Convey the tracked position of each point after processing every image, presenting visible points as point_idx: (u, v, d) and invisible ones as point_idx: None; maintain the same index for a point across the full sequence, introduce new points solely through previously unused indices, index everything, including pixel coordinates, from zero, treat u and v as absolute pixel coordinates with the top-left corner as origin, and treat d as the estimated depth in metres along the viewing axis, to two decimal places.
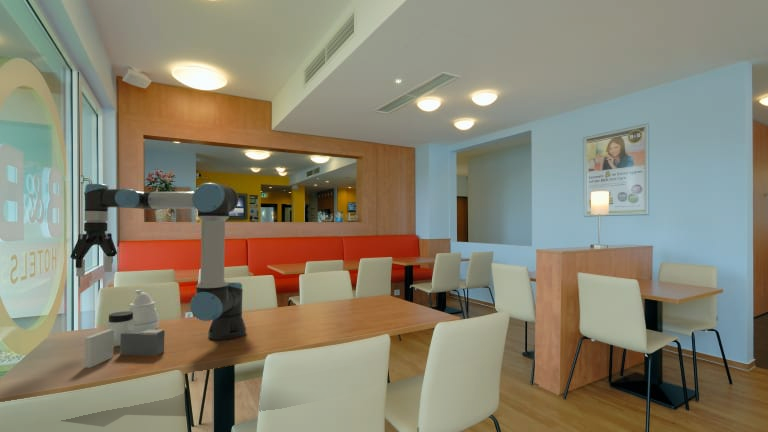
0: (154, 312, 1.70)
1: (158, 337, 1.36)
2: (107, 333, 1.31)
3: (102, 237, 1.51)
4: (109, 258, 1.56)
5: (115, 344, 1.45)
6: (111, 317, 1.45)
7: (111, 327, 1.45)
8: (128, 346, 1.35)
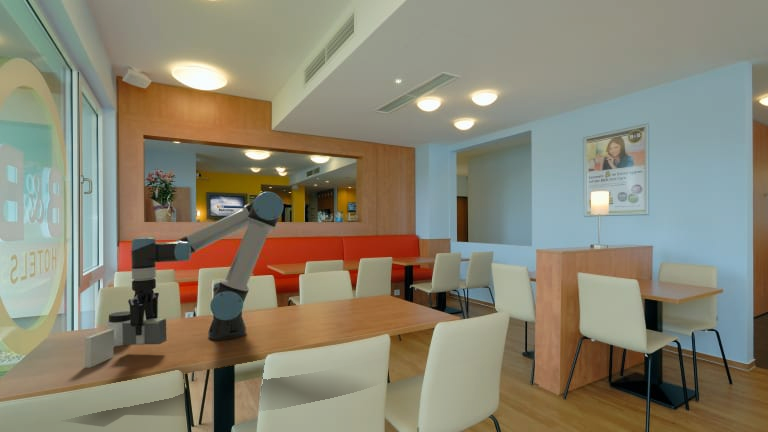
0: None
1: (160, 326, 1.36)
2: (107, 333, 1.31)
3: (151, 295, 1.39)
4: None
5: (115, 344, 1.45)
6: (111, 317, 1.45)
7: (111, 327, 1.45)
8: (131, 335, 1.36)
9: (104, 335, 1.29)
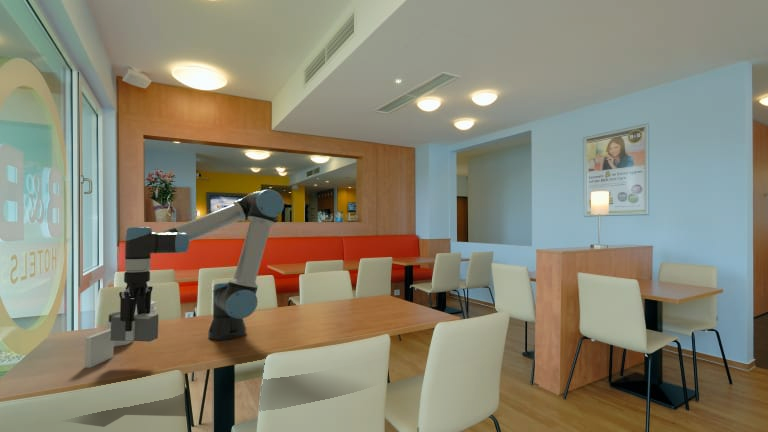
0: (154, 312, 1.70)
1: (151, 322, 1.27)
2: (107, 333, 1.31)
3: (144, 288, 1.30)
4: None
5: (115, 344, 1.45)
6: None
7: None
8: (119, 330, 1.26)
9: (104, 335, 1.29)
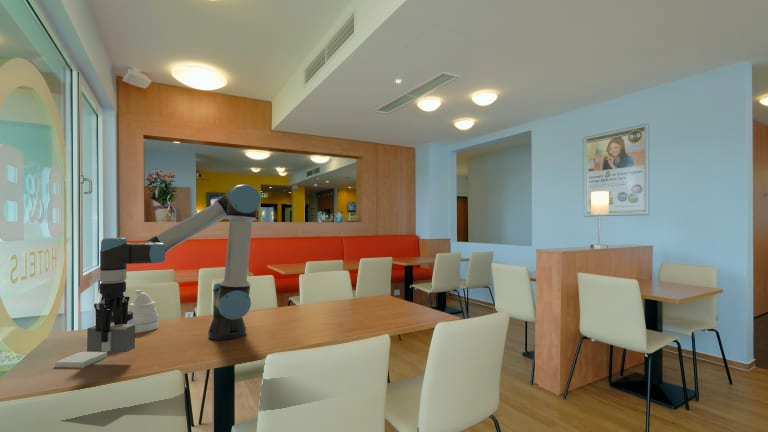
0: (154, 312, 1.70)
1: (127, 332, 1.27)
2: (75, 354, 1.31)
3: (120, 299, 1.30)
4: None
5: None
6: None
7: None
8: (96, 341, 1.27)
9: (72, 356, 1.30)
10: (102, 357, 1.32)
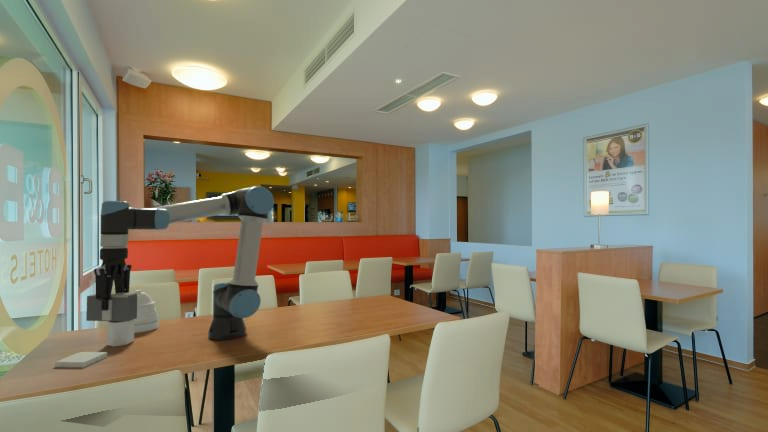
0: (154, 312, 1.70)
1: (129, 301, 1.20)
2: (75, 354, 1.31)
3: (122, 266, 1.23)
4: None
5: (115, 344, 1.45)
6: None
7: (111, 327, 1.45)
8: (96, 310, 1.20)
9: (72, 356, 1.30)
10: (102, 357, 1.32)
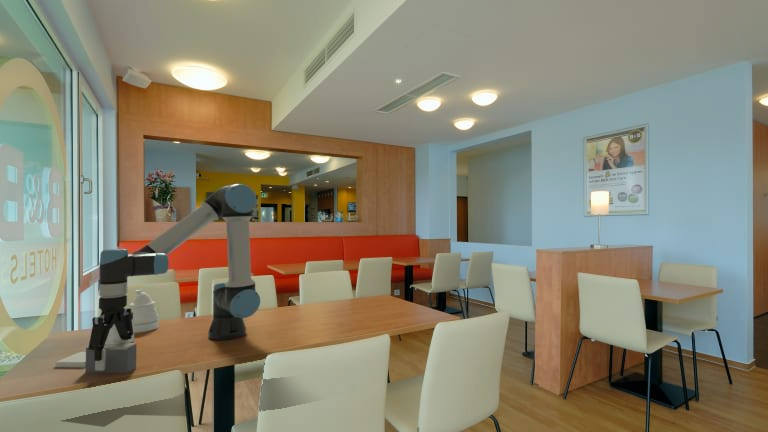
0: (154, 312, 1.70)
1: (128, 352, 1.20)
2: (75, 354, 1.31)
3: (121, 314, 1.23)
4: (124, 342, 1.26)
5: None
6: None
7: None
8: None
9: (72, 356, 1.30)
10: None
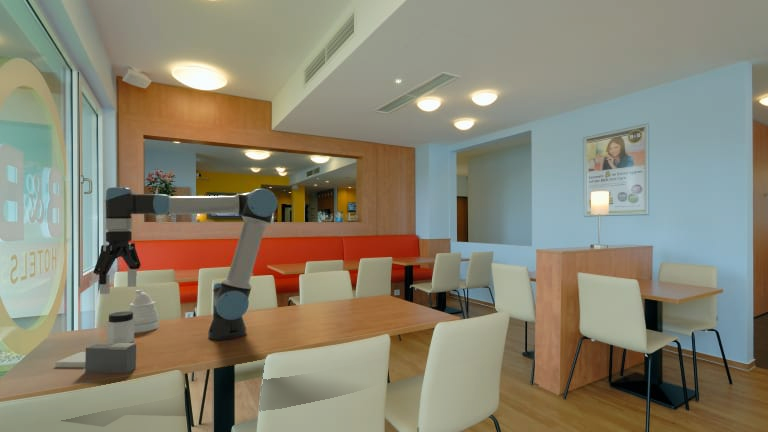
0: (154, 312, 1.70)
1: (128, 353, 1.20)
2: (75, 354, 1.31)
3: (126, 248, 1.33)
4: (133, 271, 1.38)
5: None
6: (111, 317, 1.45)
7: (111, 327, 1.45)
8: (94, 362, 1.19)
9: (73, 356, 1.30)
10: None
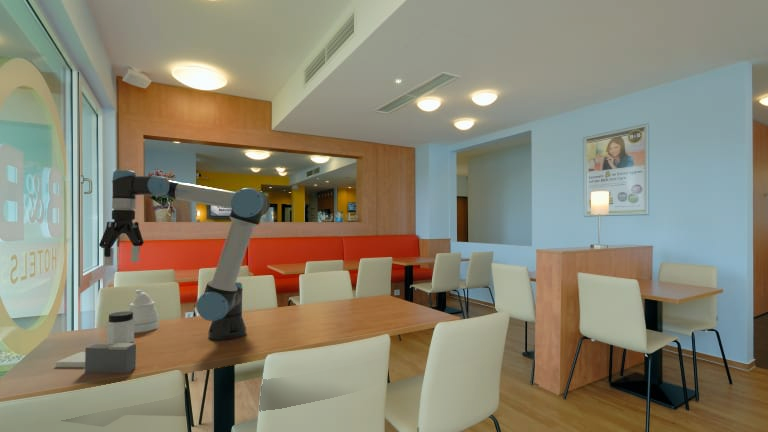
0: (154, 312, 1.70)
1: (128, 353, 1.20)
2: (75, 354, 1.31)
3: (130, 226, 1.46)
4: (136, 248, 1.51)
5: None
6: (111, 317, 1.45)
7: (111, 327, 1.45)
8: (94, 362, 1.19)
9: (73, 355, 1.30)
10: None
